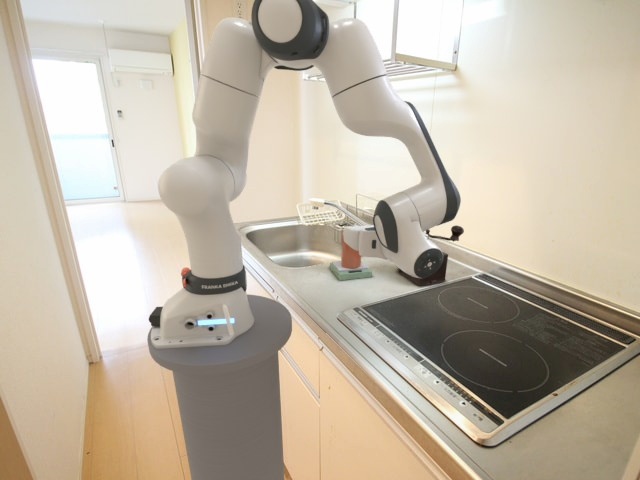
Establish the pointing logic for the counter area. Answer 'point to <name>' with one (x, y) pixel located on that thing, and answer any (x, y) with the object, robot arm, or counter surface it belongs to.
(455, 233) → the manual coffee grinder
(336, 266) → the scale
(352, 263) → the tumbler
